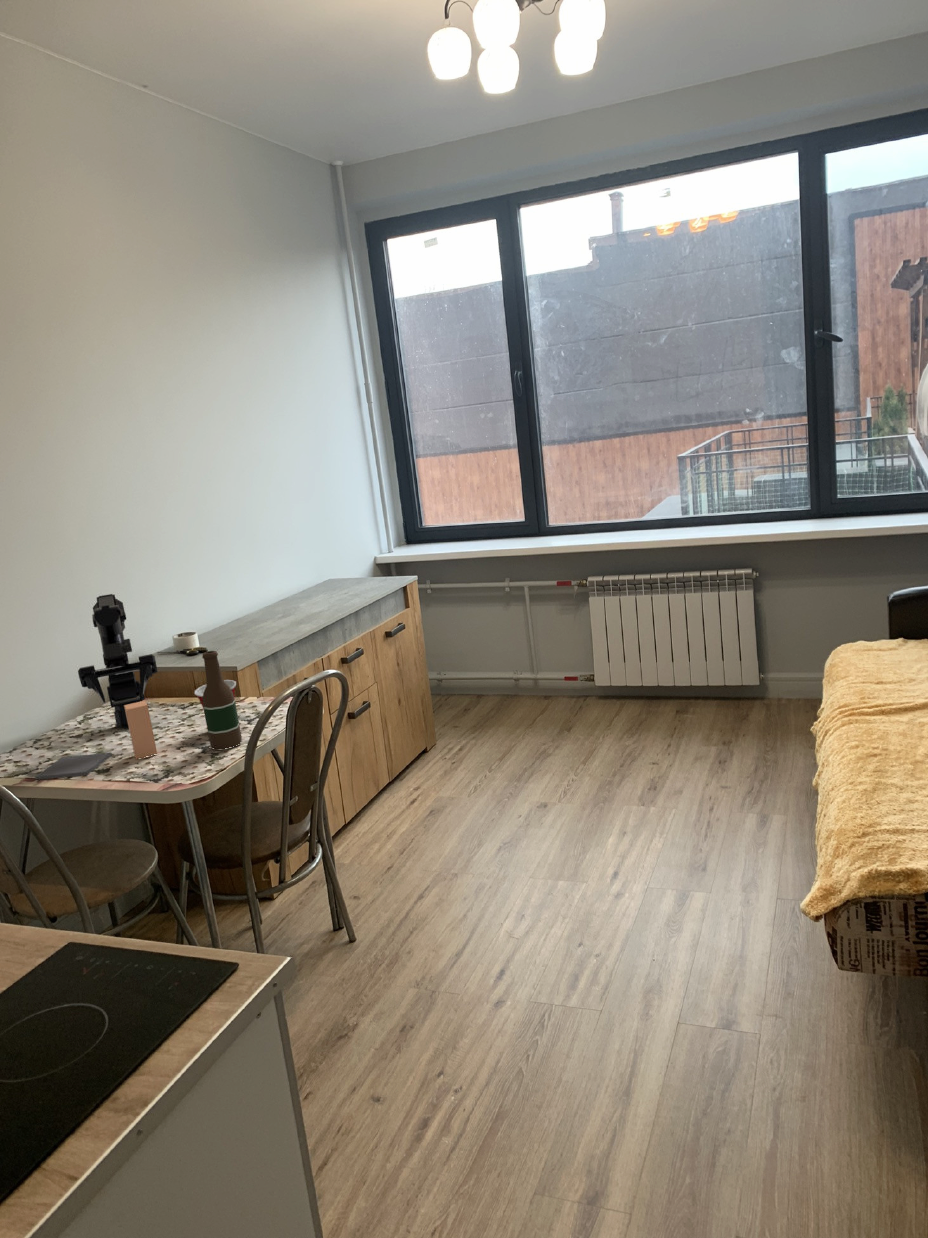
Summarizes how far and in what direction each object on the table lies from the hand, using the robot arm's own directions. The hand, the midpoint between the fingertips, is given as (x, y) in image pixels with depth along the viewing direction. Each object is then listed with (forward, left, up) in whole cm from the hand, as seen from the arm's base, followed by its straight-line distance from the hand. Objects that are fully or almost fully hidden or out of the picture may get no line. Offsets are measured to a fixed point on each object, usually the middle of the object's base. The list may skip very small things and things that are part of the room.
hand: (123, 698), depth 235 cm
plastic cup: (-19, +12, -14) cm, 26 cm away
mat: (+15, -3, -14) cm, 20 cm away
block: (+2, +8, -14) cm, 16 cm away
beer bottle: (-11, +24, -14) cm, 30 cm away
